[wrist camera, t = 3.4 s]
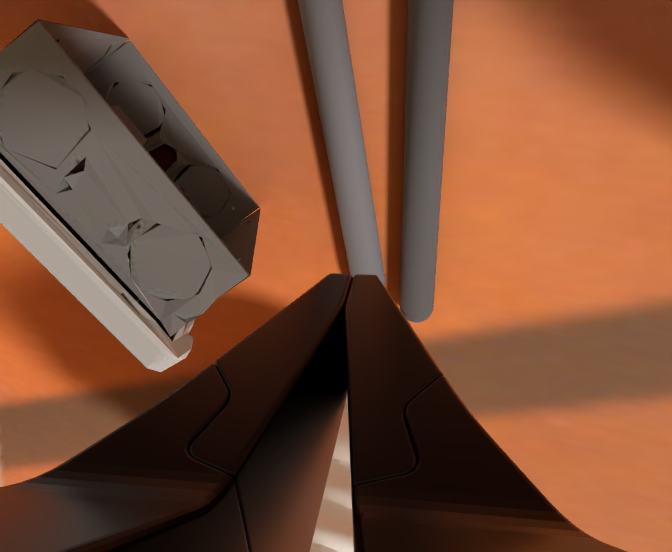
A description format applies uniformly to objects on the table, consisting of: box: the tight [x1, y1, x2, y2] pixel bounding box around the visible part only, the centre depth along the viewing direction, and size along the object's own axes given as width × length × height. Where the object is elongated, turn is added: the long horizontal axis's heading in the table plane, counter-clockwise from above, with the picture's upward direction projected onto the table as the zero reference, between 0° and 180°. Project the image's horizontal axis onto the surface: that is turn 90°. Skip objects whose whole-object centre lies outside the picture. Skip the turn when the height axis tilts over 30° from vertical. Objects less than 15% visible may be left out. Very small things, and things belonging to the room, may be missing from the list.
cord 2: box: [400, 0, 453, 322], centre depth 18 cm, size 1×16×1 cm, turn 2°
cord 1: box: [298, 0, 385, 287], centre depth 18 cm, size 1×15×1 cm, turn 11°
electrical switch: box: [0, 19, 260, 372], centre depth 17 cm, size 9×5×9 cm, turn 34°
